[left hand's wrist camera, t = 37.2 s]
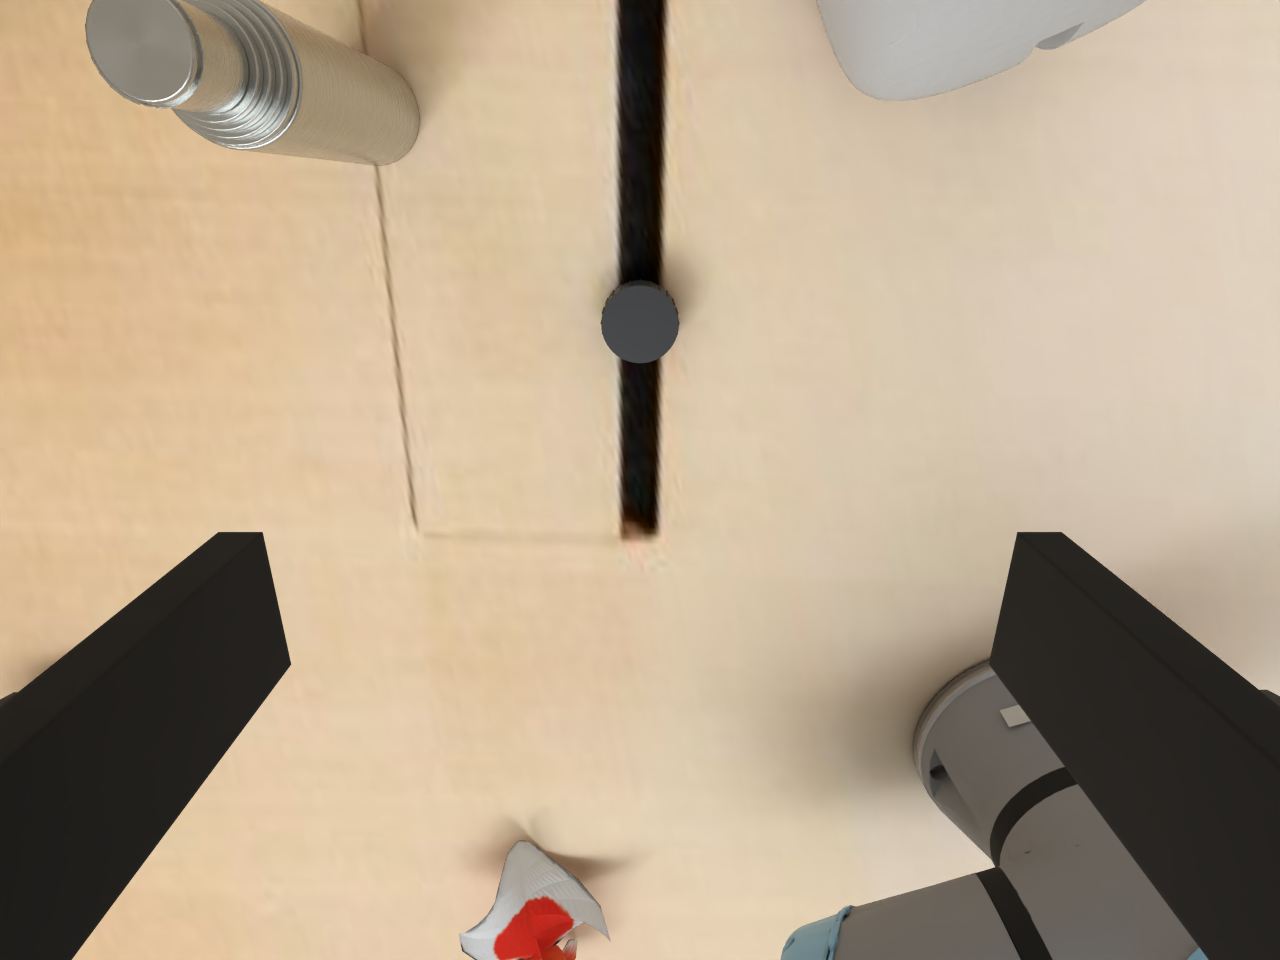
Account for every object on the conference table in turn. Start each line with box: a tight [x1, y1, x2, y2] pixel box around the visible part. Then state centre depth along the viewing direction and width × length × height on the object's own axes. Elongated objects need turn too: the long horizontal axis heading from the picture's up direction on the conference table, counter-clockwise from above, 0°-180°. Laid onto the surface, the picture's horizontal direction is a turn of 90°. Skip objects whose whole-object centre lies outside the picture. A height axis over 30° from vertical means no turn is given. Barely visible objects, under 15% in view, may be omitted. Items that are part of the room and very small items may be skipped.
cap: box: [601, 279, 679, 363], centre depth 40 cm, size 4×4×3 cm
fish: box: [459, 840, 611, 960], centre depth 55 cm, size 11×16×10 cm
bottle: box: [85, 0, 419, 165], centre depth 29 cm, size 5×5×19 cm
